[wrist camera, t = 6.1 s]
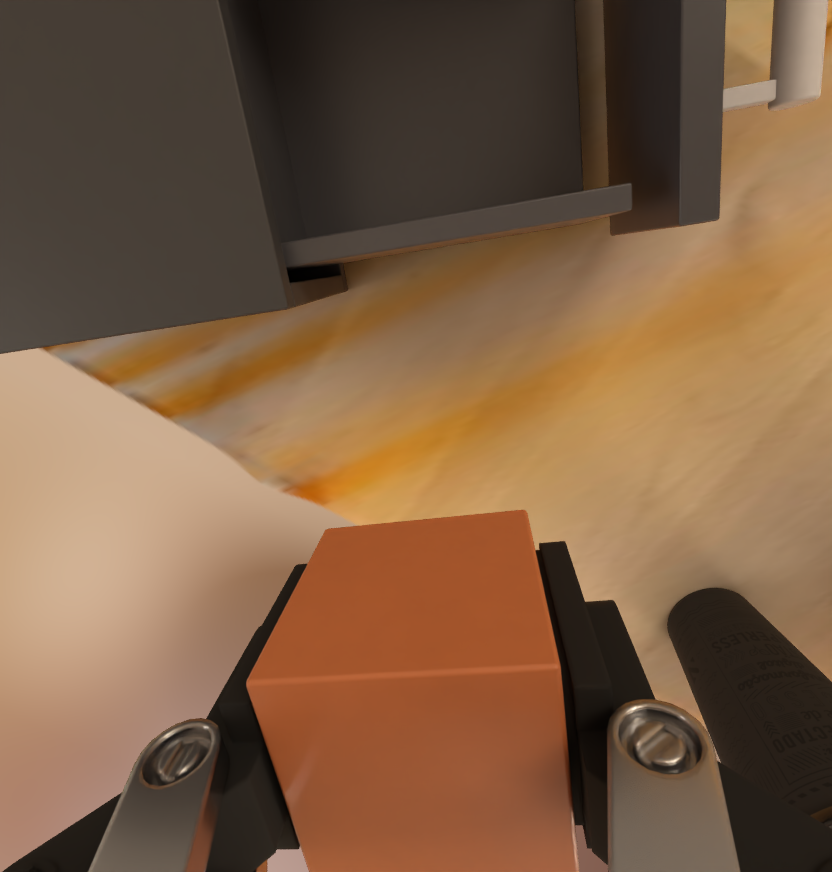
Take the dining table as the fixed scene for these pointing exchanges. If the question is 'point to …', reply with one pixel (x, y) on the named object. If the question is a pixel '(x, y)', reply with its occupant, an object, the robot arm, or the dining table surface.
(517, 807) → the block
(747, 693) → the drinking cup
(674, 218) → the drawer
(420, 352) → the dining table surface
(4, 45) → the cabinet
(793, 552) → the dining table surface
